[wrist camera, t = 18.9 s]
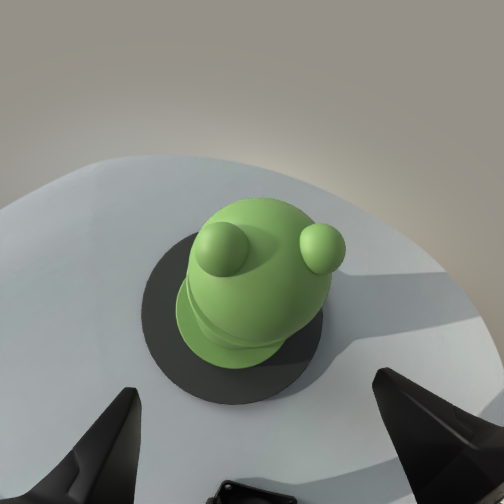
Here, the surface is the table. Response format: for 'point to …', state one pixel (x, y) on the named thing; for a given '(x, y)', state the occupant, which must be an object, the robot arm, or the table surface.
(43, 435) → the table surface
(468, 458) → the robot arm
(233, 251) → the toy
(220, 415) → the table surface
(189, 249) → the mat
